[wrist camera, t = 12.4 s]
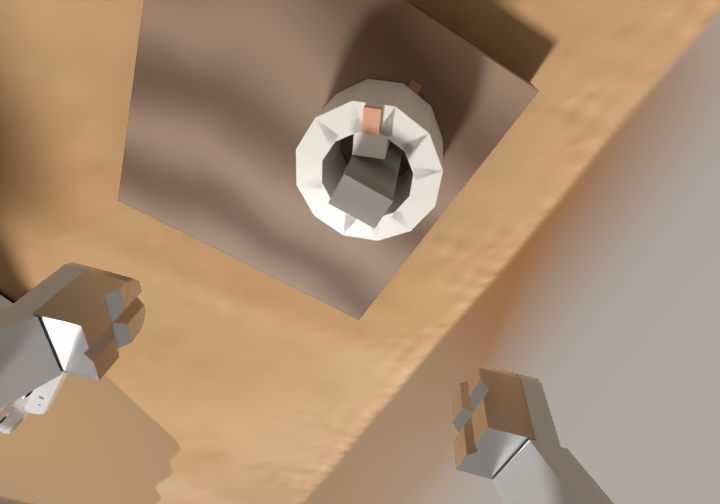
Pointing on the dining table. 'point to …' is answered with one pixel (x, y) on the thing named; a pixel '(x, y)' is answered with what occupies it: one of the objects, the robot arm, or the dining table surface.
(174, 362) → the dining table surface
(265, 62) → the board
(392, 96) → the white hollow tube
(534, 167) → the dining table surface
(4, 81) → the dining table surface
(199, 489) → the dining table surface
